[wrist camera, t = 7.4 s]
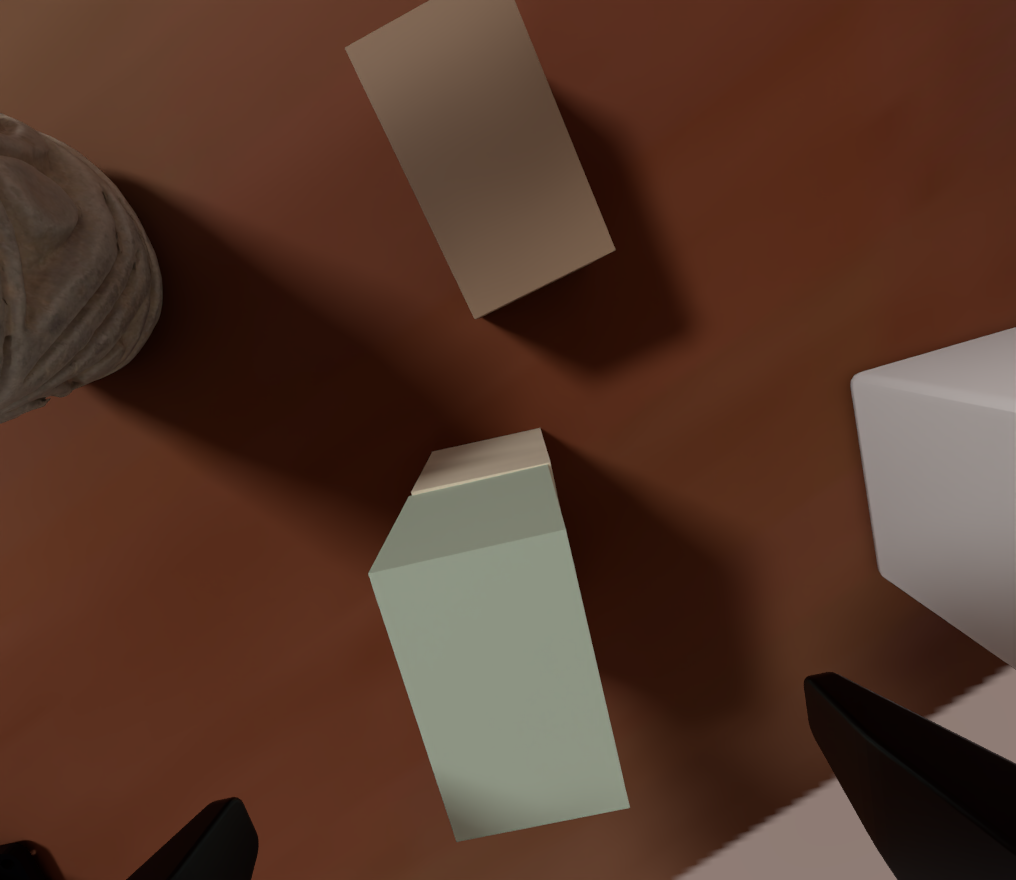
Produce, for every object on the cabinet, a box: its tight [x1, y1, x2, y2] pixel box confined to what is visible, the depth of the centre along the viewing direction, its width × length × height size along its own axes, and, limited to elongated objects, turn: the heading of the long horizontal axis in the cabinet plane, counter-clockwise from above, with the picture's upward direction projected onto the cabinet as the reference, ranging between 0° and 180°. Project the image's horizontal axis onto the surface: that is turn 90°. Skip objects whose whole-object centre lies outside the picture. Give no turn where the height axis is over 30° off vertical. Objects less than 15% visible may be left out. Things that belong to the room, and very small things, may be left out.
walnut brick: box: [345, 0, 616, 319], centre depth 13 cm, size 6×4×4 cm, turn 26°
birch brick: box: [411, 428, 561, 510], centre depth 16 cm, size 6×4×4 cm, turn 13°
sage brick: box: [368, 464, 630, 842], centre depth 12 cm, size 6×4×4 cm, turn 14°
